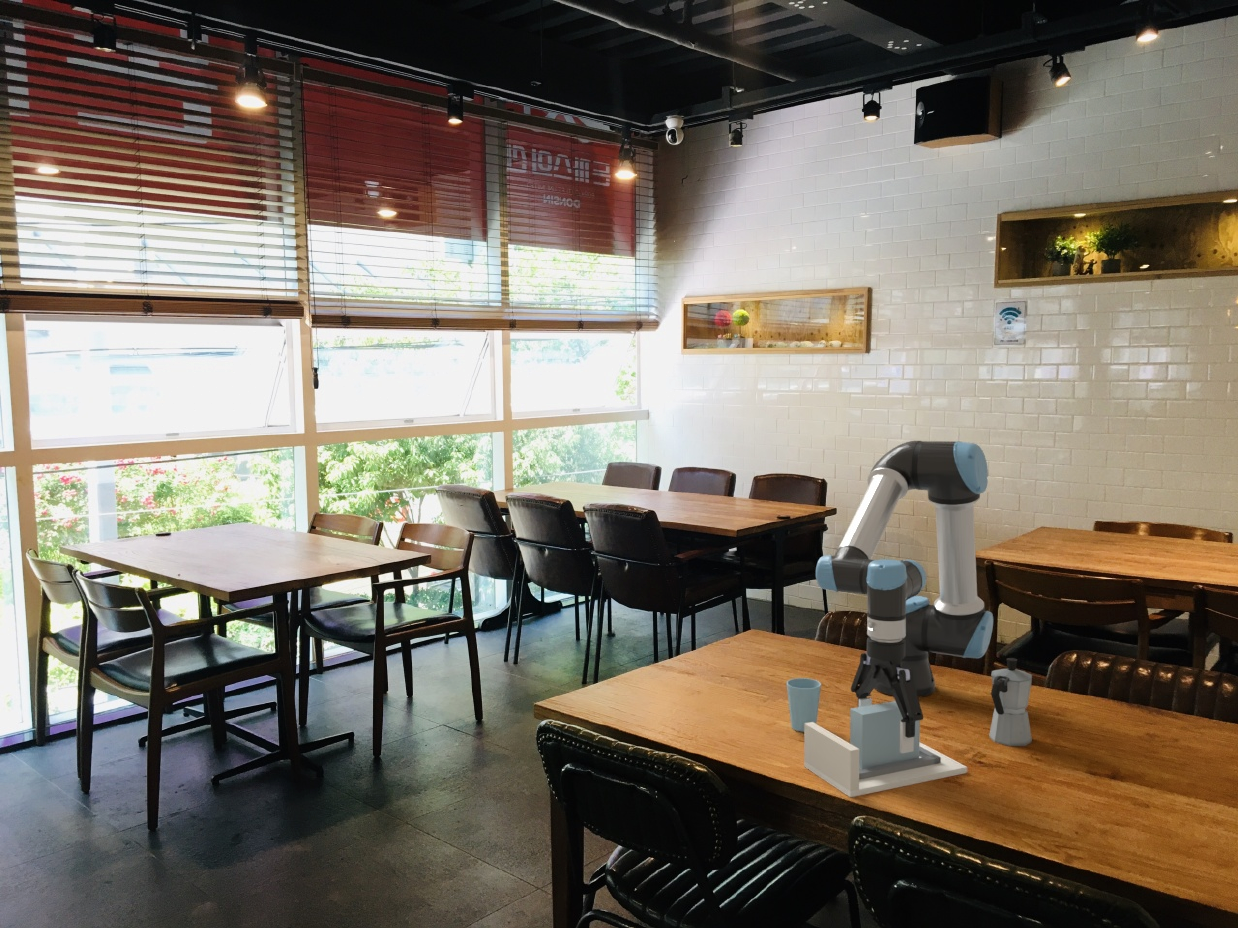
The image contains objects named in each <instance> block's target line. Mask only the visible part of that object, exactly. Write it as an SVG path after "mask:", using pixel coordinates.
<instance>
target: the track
mask: <svg viewBox="0 0 1238 928" xmlns="http://www.w3.org/2000/svg"><path fill="white" fill-rule="evenodd" d="M803 733H804V734H803V735H804V736H803V737H804V741H803V742H804V746H803V747H804V748H803V749H804V751H803V752H804V753H803V754H804V756H803V757H804V760H803V761H804V763H803V765H804V766H803V767H804V768H805V767H806V768H805V769H807V770H808V769H809V770H808V771H810V772H811V773H813V774H815V775H816V776H817V777H818V778H820V779H822V780H824V781H825V782H827V783H828V784H830V785H831V786H833V787H834V788H835V789H837V790H838V791H840V792H842V793H843V794H845V795H846V796H848V798H855V797H858V796H864V795H867V794H874V793H878V792H882V791H886V790H891V789H896V788H901V787H905V786H911V785H917V784H920V783H925V782H929V781H934V780H939V779H945V778H948V777H952V776H958V775H962V774H967V773H968V766H966V765H964V764H962V763H960V762H958V761H956V760H954V759H953V758H951V757H949V756H947V755H945V754H943V753H942V752H939V751H937V750H936V749H933V748H932V747H930V746H928V745H926V744H924V743H922V742H919V758H917V759H912V760H907V761H902V762H897V763H892V764H887V765H882V766H877V767H872V768H867V769H862V770H859V749H858V748H857V747H855V746H853V745H851V744H850V742H848V741H847V740H844V739H842V738H841V737H839V736H837V735H836V734H834V733H832V732H831V731H829V730H827V729H826V728H824V727H822V726H821V725H818V724H815V723H814V722H810V723H804V732H803Z"/></svg>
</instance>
